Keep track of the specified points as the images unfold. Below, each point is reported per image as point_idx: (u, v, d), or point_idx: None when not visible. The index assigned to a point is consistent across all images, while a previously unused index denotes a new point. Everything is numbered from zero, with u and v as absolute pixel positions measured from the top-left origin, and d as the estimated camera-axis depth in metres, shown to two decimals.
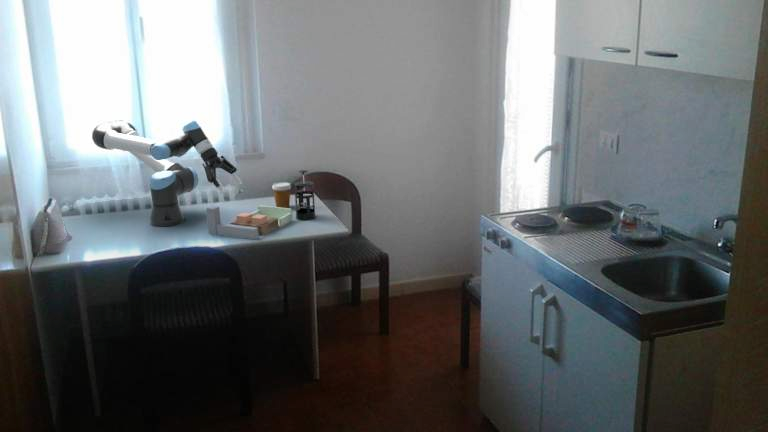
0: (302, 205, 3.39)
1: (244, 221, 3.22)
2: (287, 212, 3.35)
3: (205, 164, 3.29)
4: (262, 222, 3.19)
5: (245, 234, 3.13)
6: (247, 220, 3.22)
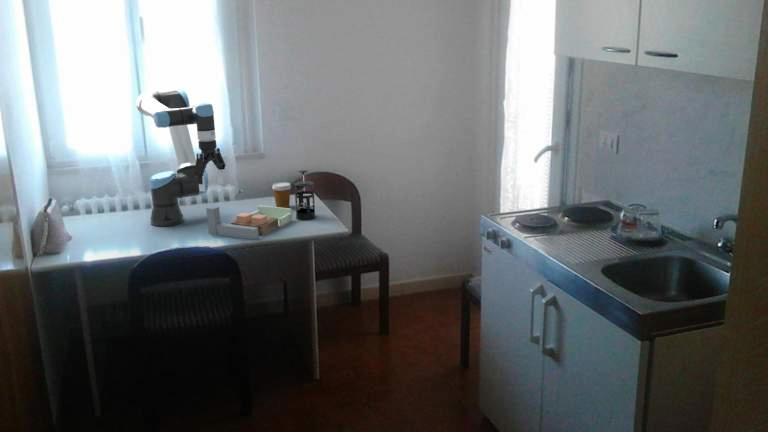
0: (302, 205, 3.39)
1: (244, 221, 3.22)
2: (287, 212, 3.35)
3: (199, 156, 3.06)
4: (262, 222, 3.19)
5: (245, 234, 3.13)
6: (247, 220, 3.22)
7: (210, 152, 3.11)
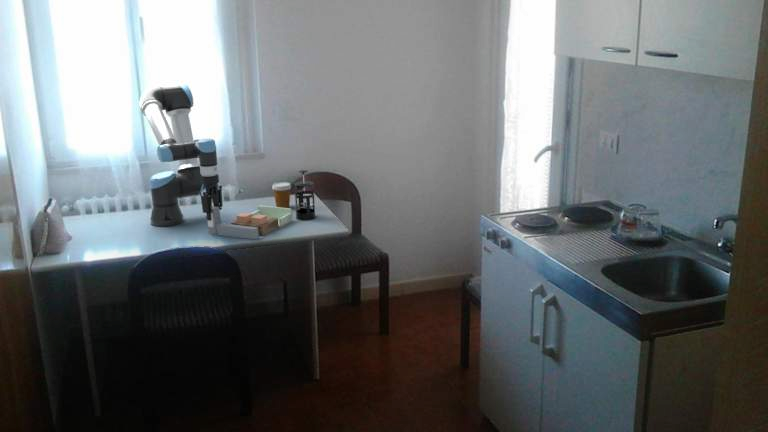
0: (302, 205, 3.39)
1: (244, 221, 3.22)
2: (287, 212, 3.35)
3: (203, 195, 3.10)
4: (262, 222, 3.19)
5: (245, 234, 3.13)
6: (247, 220, 3.22)
7: (212, 186, 3.15)
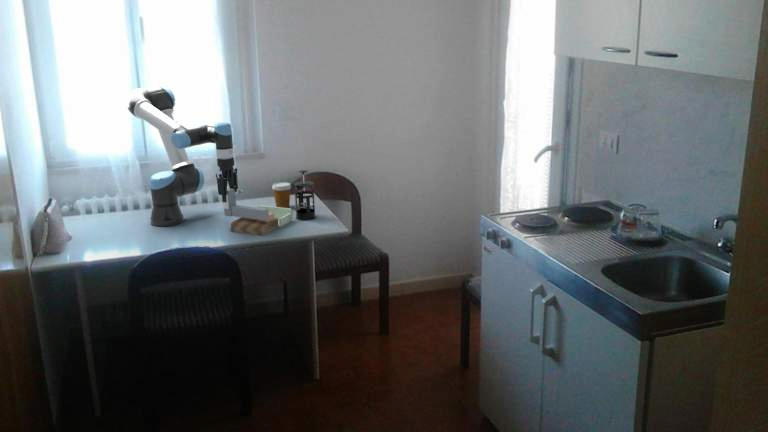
0: (302, 205, 3.39)
1: None
2: (287, 212, 3.35)
3: (219, 177, 3.20)
4: (268, 220, 3.22)
5: (256, 215, 3.20)
6: None
7: (228, 169, 3.25)
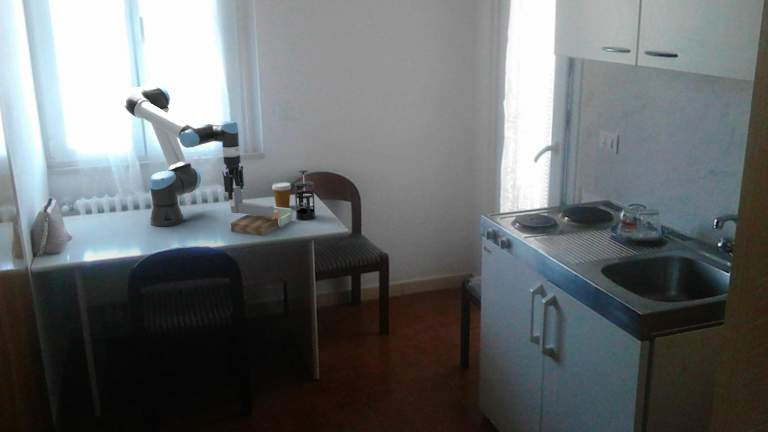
0: (302, 205, 3.39)
1: None
2: (287, 212, 3.35)
3: (225, 174, 3.24)
4: (273, 217, 3.26)
5: (261, 212, 3.24)
6: None
7: (234, 167, 3.29)
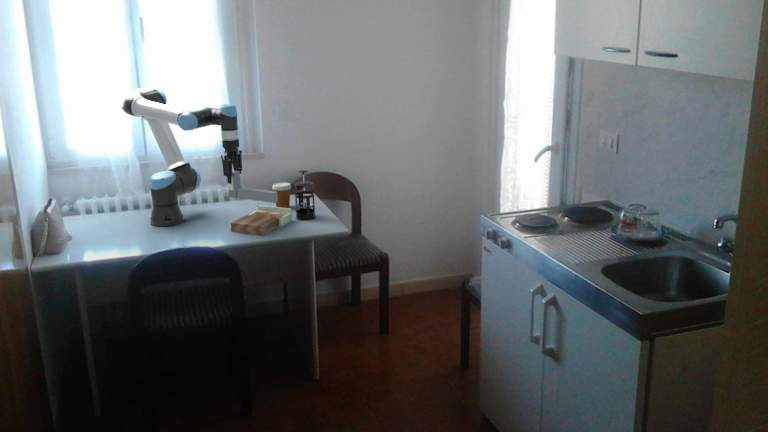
0: (302, 205, 3.39)
1: (263, 212, 3.32)
2: (287, 212, 3.35)
3: (224, 158, 3.22)
4: (279, 216, 3.29)
5: (265, 198, 3.25)
6: (265, 214, 3.32)
7: (233, 151, 3.27)
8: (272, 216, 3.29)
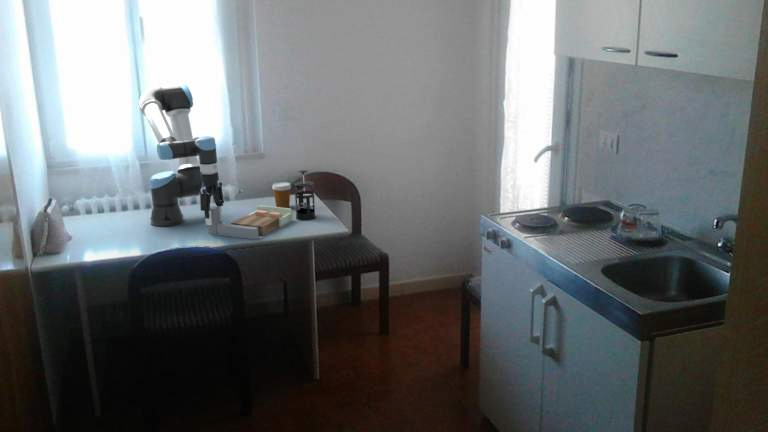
0: (302, 205, 3.39)
1: (263, 212, 3.32)
2: (287, 212, 3.35)
3: (202, 192, 3.10)
4: (279, 216, 3.29)
5: (245, 234, 3.13)
6: (265, 214, 3.32)
7: (212, 184, 3.15)
8: (272, 216, 3.29)
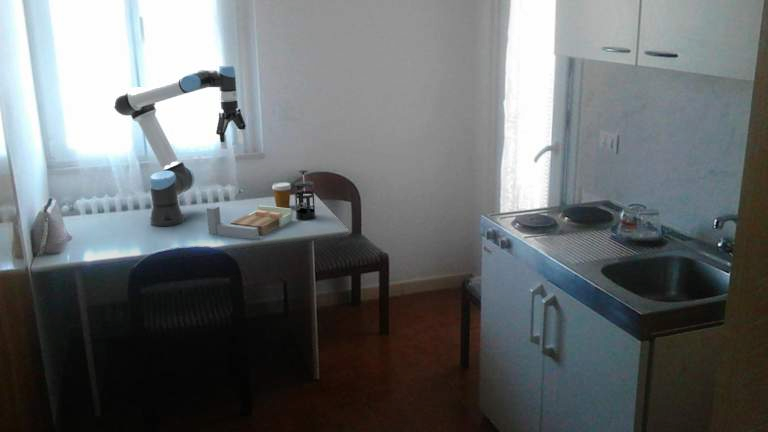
0: (302, 205, 3.39)
1: (263, 212, 3.32)
2: (287, 212, 3.35)
3: (221, 115, 3.24)
4: (279, 216, 3.29)
5: (245, 234, 3.13)
6: (265, 214, 3.32)
7: (232, 112, 3.30)
8: (272, 216, 3.29)
